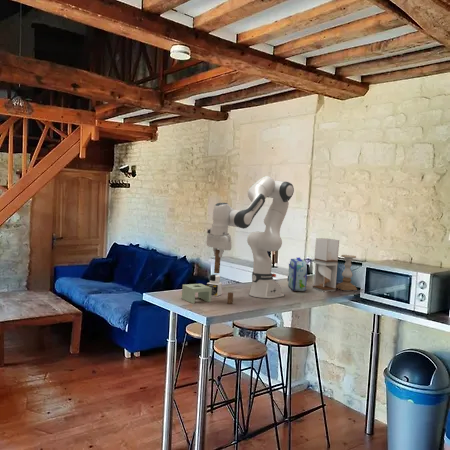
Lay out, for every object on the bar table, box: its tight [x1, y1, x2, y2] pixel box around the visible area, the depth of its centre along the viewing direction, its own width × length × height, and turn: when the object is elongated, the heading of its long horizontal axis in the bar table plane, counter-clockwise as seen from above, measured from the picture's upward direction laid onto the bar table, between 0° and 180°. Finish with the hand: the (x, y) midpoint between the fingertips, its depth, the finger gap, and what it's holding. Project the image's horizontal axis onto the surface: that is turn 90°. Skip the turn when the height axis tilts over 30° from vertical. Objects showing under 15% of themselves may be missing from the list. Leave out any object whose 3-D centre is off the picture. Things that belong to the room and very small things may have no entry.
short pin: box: [226, 292, 234, 305], centre depth 247 cm, size 3×3×6 cm
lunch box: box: [287, 257, 308, 292], centre depth 302 cm, size 26×11×21 cm, turn 178°
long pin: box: [213, 248, 222, 274], centre depth 247 cm, size 3×3×13 cm
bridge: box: [181, 283, 212, 305], centre depth 250 cm, size 12×12×8 cm
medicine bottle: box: [206, 273, 223, 297], centre depth 268 cm, size 7×7×12 cm
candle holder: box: [336, 254, 358, 291], centre depth 312 cm, size 11×11×24 cm
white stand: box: [311, 237, 340, 293], centre depth 305 cm, size 11×11×35 cm
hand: (217, 256), depth 247 cm, fingers closed on long pin, 3 cm apart
